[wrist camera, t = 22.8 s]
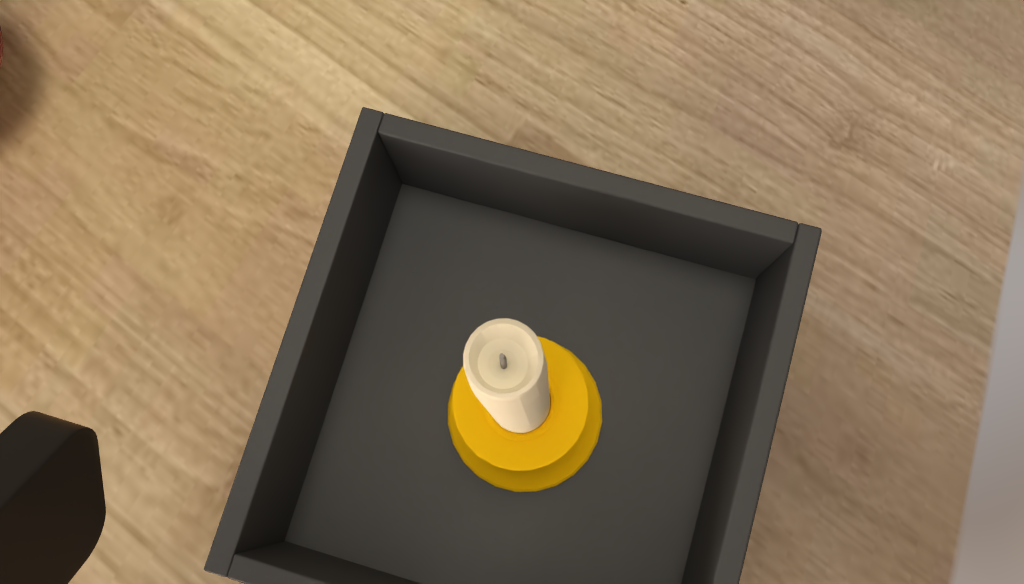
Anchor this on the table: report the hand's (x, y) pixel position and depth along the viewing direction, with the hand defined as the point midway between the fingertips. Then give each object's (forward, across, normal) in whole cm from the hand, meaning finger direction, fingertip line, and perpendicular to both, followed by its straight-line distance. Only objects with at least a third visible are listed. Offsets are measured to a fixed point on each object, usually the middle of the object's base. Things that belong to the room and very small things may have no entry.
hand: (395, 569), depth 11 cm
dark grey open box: (+17, 0, +12) cm, 21 cm away
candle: (+16, 0, +12) cm, 20 cm away
